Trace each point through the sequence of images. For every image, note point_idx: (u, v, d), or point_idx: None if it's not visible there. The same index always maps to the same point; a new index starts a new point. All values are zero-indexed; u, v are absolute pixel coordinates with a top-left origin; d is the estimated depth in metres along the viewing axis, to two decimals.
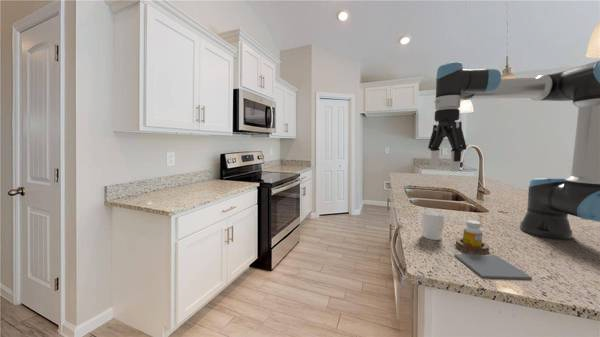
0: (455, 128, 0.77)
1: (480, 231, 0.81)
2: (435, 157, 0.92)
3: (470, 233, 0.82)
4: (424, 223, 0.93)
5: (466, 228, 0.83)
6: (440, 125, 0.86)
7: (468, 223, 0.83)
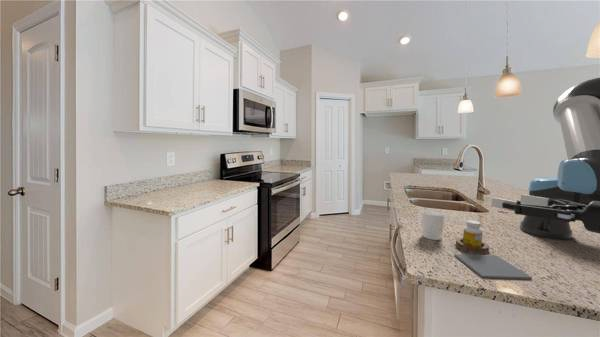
0: None
1: (480, 231, 0.81)
2: None
3: (470, 233, 0.82)
4: (424, 223, 0.93)
5: (466, 228, 0.83)
6: None
7: (468, 223, 0.83)
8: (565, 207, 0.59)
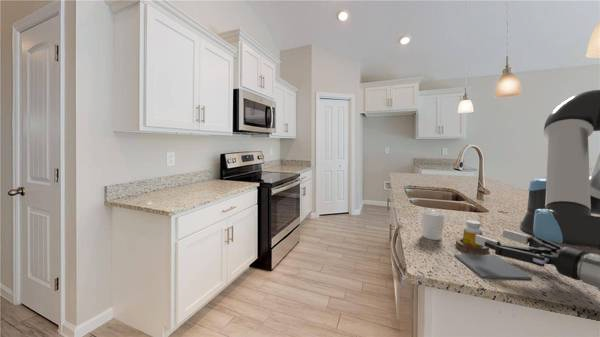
0: None
1: (480, 231, 0.81)
2: None
3: (470, 233, 0.82)
4: (424, 223, 0.93)
5: (466, 228, 0.83)
6: None
7: (468, 223, 0.83)
8: (540, 250, 0.64)
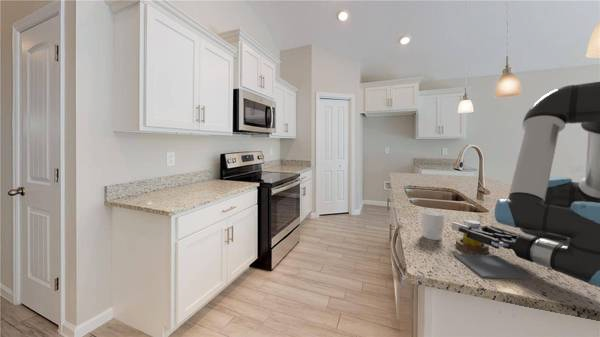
0: None
1: None
2: None
3: None
4: (424, 223, 0.93)
5: None
6: None
7: (468, 223, 0.83)
8: (502, 236, 0.73)
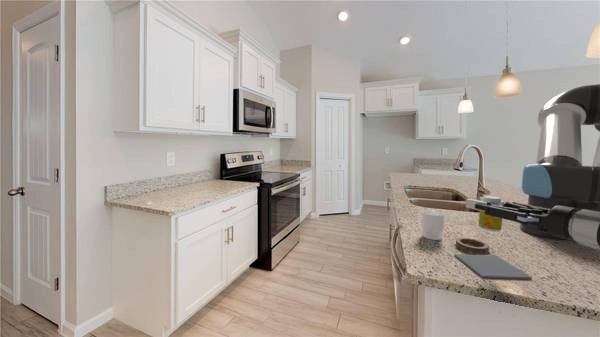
0: None
1: None
2: None
3: None
4: (424, 223, 0.93)
5: None
6: None
7: (486, 199, 0.70)
8: (529, 211, 0.60)
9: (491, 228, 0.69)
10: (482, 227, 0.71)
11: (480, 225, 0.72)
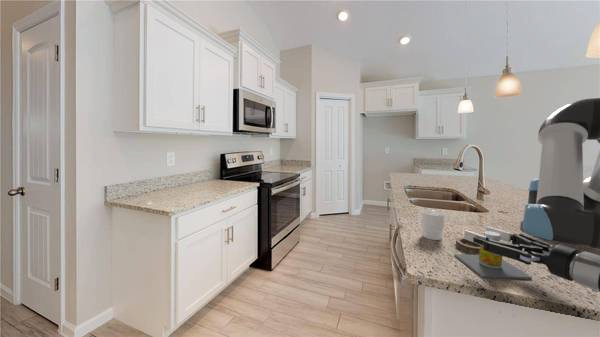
0: None
1: None
2: None
3: None
4: (424, 223, 0.93)
5: None
6: None
7: (486, 235, 0.70)
8: (530, 248, 0.60)
9: (491, 265, 0.69)
10: (482, 263, 0.71)
11: (480, 261, 0.72)
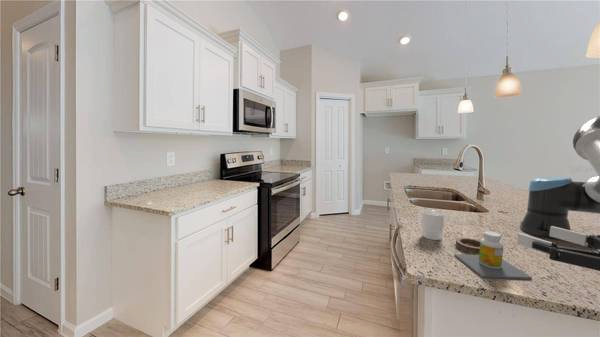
0: None
1: (501, 245, 0.68)
2: None
3: (488, 247, 0.69)
4: (424, 223, 0.93)
5: (484, 241, 0.71)
6: None
7: (486, 235, 0.70)
8: None
9: (491, 265, 0.69)
10: (482, 263, 0.71)
11: (480, 261, 0.72)
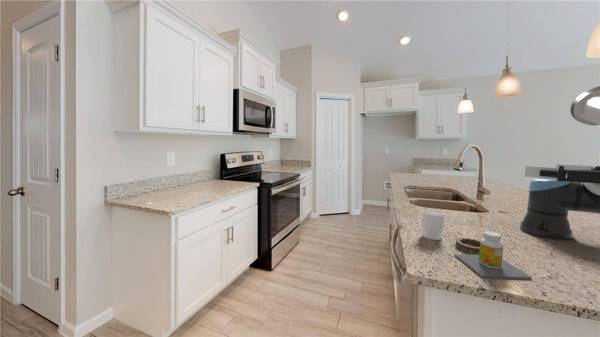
0: None
1: (501, 245, 0.68)
2: None
3: (488, 247, 0.69)
4: (424, 223, 0.93)
5: (484, 241, 0.71)
6: None
7: (486, 235, 0.70)
8: None
9: (491, 265, 0.69)
10: (482, 263, 0.71)
11: (480, 261, 0.72)
